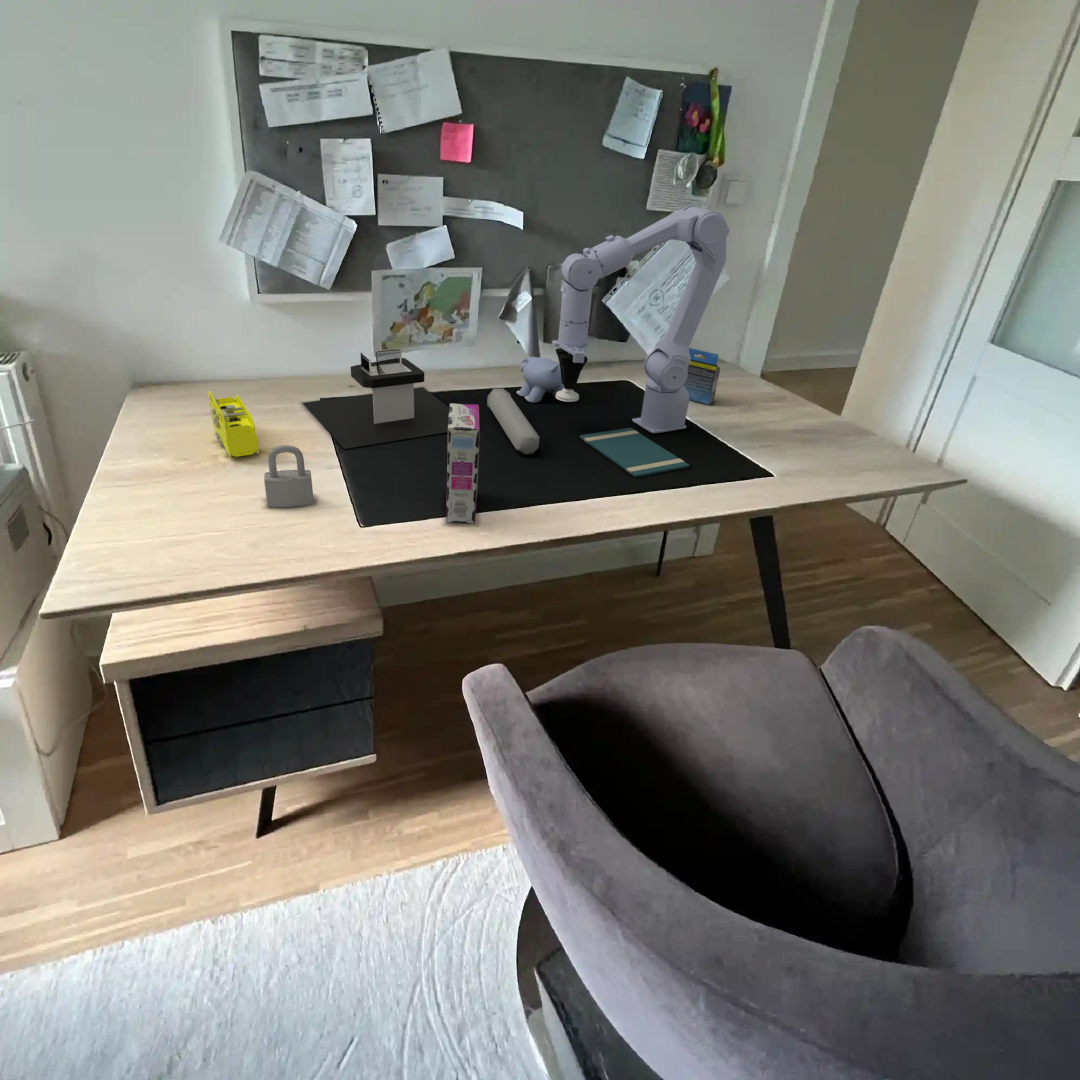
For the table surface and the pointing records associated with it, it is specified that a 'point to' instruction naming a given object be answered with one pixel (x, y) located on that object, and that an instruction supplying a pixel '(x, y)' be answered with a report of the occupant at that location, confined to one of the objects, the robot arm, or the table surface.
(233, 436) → the yellow toy chassis
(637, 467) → the towel
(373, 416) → the black-topped pedestal
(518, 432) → the tube
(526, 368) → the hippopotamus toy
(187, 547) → the table surface
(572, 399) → the chess piece
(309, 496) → the padlock
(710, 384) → the blue retail box
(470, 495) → the candy bar box
